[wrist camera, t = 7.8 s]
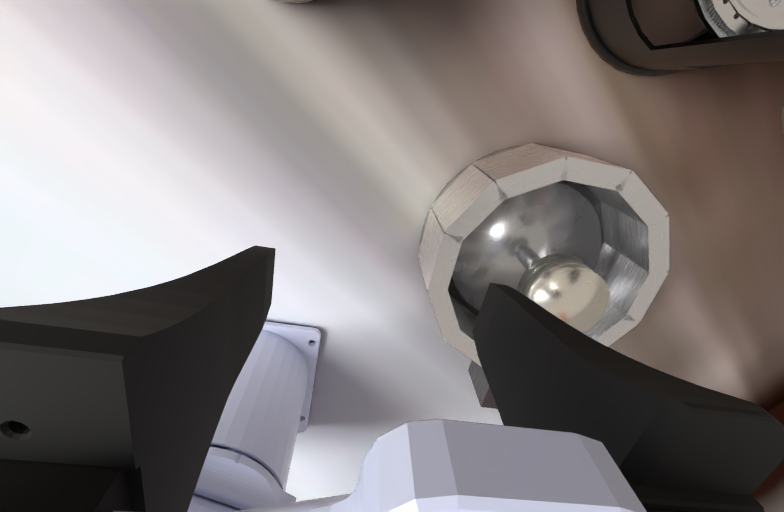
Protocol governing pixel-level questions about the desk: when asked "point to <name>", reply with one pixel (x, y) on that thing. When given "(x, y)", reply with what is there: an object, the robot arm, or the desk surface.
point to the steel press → (525, 173)
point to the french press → (706, 49)
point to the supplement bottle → (295, 1)
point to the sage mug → (782, 118)
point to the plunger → (538, 254)
